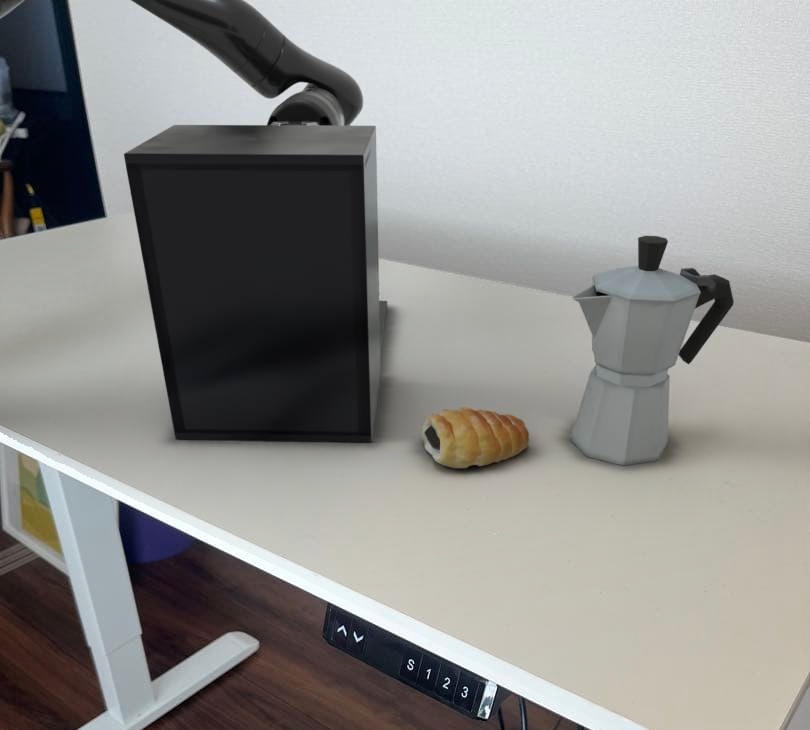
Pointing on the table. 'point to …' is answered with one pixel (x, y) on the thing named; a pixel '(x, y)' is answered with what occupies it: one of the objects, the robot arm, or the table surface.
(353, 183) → the black open cabinet
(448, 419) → the pastry
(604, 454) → the coffee maker
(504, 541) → the table surface
